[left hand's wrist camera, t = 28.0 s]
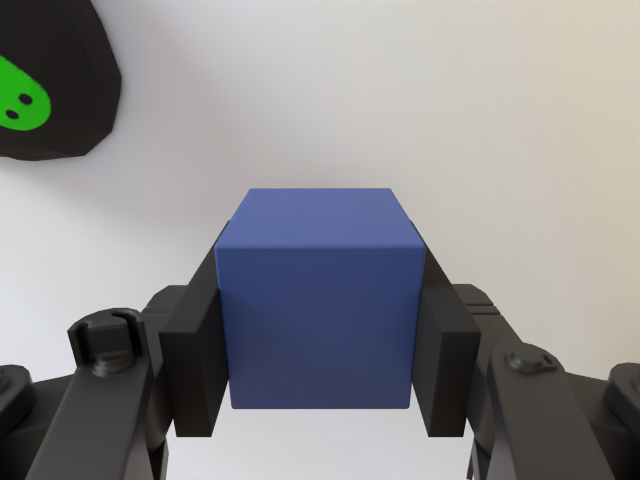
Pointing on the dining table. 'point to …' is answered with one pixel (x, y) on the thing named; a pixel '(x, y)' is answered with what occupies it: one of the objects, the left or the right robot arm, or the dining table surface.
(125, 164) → the dining table surface
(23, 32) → the computer mouse
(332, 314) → the block
